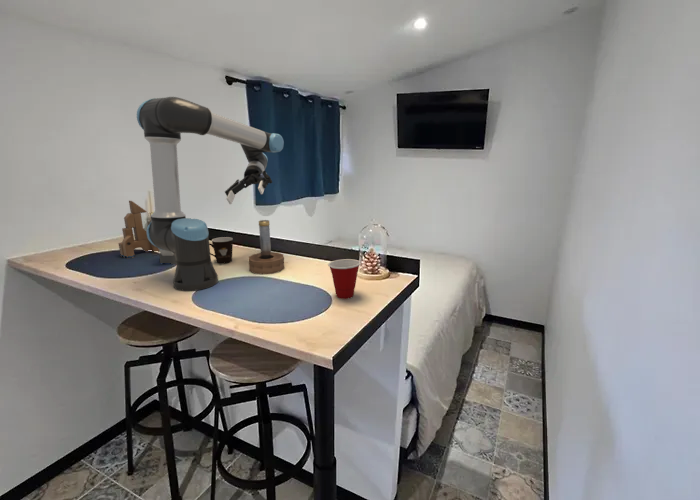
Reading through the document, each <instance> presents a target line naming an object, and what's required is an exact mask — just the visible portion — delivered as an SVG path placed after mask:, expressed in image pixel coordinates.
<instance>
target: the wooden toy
mask: <svg viewBox="0 0 700 500" xmlns="http://www.w3.org/2000/svg"><path fill="white" fill-rule="evenodd" d="M128 203H129V204H128V205H129V210H130V212H128V213H126V215H125V216H124V218H123V219H124V227H123V228H122V229H121V230H122V234H123V235H122V236H123V239H122V242H118V248H119V249H118V250H119V253H120V254H121V255H124V256H127V257H128V256H133V255H135V251H134V250H136V249H137V248H139V249H142V251H143V250H145V251H148V250H152V251H151V252H153V251H159V249H158V247H155V246H154V245H152V244H151V243H150V241H149V240H148V237H147V230H145V228H144V226H143V219H142V214H144V213H147V212H148V211H147V210H145V209H144V208H143V207H141V206H140V205H139V204H137V203H135V202H134V201H133V200H128ZM159 252H160V251H159ZM120 254H119V255H120ZM121 255H120V256H121Z"/></svg>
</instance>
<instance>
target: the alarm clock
mask: <svg viewBox="0 0 700 500" xmlns="http://www.w3.org/2000/svg"><path fill="white" fill-rule="evenodd" d="M158 249H159V248H158ZM160 263H171V264H170V265H176V257H175V253H174V252H170V251H167V250H162V249H159V264H160Z"/></svg>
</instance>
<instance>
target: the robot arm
mask: <svg viewBox="0 0 700 500" xmlns="http://www.w3.org/2000/svg"><path fill="white" fill-rule="evenodd" d="M136 120H137V121H136V122H137V123H138V125H139V127H140V128H141V129H142V130H143V135H144V139H145V140H146V141H147V142H148V143H149V148H150V160H151V161H150V162H151V163H150V164H151V173H152V187H153V197H154V211H153V212H152V213H151V215H150V222H149V224H148V225H147V227H146V231H147V237H148V240H149V241H150V243H151V244H152V245H154V246H155V247H158V248H159V249H162V250H167V251H170V252H174V253H175V257H176V264H175V265H176V266H175V271H174V276H173V279H172V282H173V288H174V289H175V290H179V291H185V292H186V291H187V292H190V291H191V292H192V291H200V290H204V289H207V288H211V287H214V286H215V285H216V284H218V283H219V276H218V274H217V271H216V269H215V267H214V265H213V263H212V257H211V255H210V253H211V248H210V246H211V245H209V243H210V237H209V236H210V234H209V229H208V225H207V223H206V222H205V221H203V219H198V218H189V217H186V213H184V212H183V211H182V209H181V208H182V207H181V194H180V191H181V190H180V178H179V175H180V174H179V161H178V159H179V158H178V144H179V143H180V142H181V140H182V137H181V136H182V135H181V134H196V135H198V136H205V135H208V136H209V135H210V136H213V137H216V138H220V139H223V140H227V141H230V142H233V143H235V144H240V146H241V148H242V151H243V153H244V155H245V157H246V160H247V162H248V164H247V166H246V168H245V169H244V173H243V178H242V179H241V180H240V179H236V181H235V182H234V183H233V184H231V185H230V186H229V187H228V188H227V189H226V190H225V191H224V194H225V195H226V199H225V200H227V203H228V204H229V205H232V204H233V201H234V199H235V198H236V195H237V194H238V193H239V192H241V191H242V190H243V189H247V188H248V187H249V186H251V185H256V184H258V187H257V189H258V191H259V193H260V195H264V191H265V189H266V188H267V186H268V185H269V184H272V183H273V181H272V180H273V179H271V176H269V175H268V173H267V171H266V168H267V167H268V156H267V155H266V154H265V153H274V154H275V153H280V152H281V151H282V150H283V149H284V144H285V142H284V138H283V136H282V135H281V134H279V133H275V132H272V133H270V132H267V131H264V130H261V129H258V128H255V127H253V126H250V125H248V124H244V123H242V122H239V121H236V120H234V119H230V118H228V117H225V116H222V115H220V114H217V113H214V112H212V111H211V109H210V108H208V107H206V106H204V105H200V104H198V103H195V102H193V101H190V100H187V99H186V98H185V99H184V98H181V97H179V96H178V97H177V96H167V97H159V98H158V97H157V98H155V97H154V98H150V99H147V100H145V101H143V102H142V103H140V105H139V106H138V107H137V111H136Z"/></svg>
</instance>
